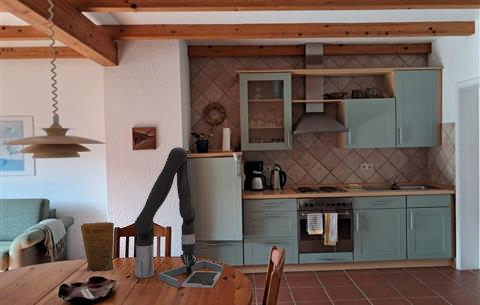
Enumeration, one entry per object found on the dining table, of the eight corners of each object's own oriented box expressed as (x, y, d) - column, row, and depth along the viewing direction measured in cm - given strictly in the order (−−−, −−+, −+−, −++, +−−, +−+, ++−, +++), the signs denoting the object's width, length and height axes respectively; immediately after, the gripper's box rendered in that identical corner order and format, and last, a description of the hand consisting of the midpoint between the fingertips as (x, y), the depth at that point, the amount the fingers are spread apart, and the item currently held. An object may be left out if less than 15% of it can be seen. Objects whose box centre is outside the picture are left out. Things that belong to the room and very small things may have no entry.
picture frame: (212, 289, 191) (221, 275, 212) (212, 283, 191) (221, 270, 212) (181, 288, 194) (194, 274, 215) (181, 282, 194) (193, 269, 215)
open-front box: (176, 287, 193) (176, 280, 193) (158, 279, 205) (158, 273, 205) (223, 272, 215) (223, 265, 215) (204, 265, 227) (204, 259, 227)
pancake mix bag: (112, 272, 220) (111, 223, 219) (81, 271, 222) (79, 223, 221) (117, 268, 226) (116, 220, 226) (87, 267, 228) (85, 220, 228)
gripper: (175, 241, 214) (176, 272, 214) (190, 245, 204) (190, 277, 205) (186, 238, 219) (187, 268, 219) (201, 242, 210) (201, 274, 210)
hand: (189, 273), depth 212 cm, fingers closed
